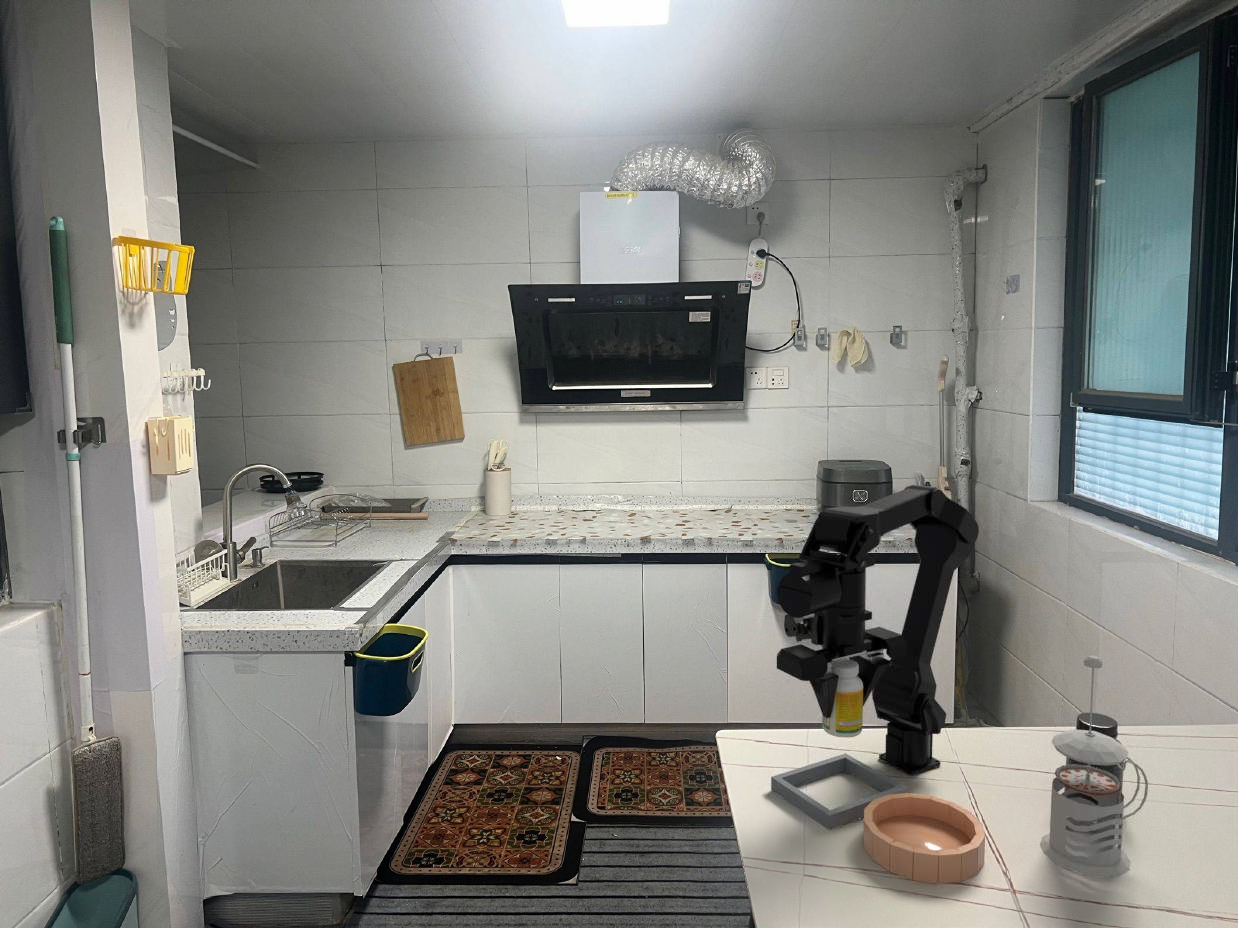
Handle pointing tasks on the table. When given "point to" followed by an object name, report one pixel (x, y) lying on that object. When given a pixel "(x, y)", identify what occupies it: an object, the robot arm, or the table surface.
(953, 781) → the table surface
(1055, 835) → the french press
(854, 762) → the open rectangular frame
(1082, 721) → the supplement bottle
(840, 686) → the supplement bottle
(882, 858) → the bowl
